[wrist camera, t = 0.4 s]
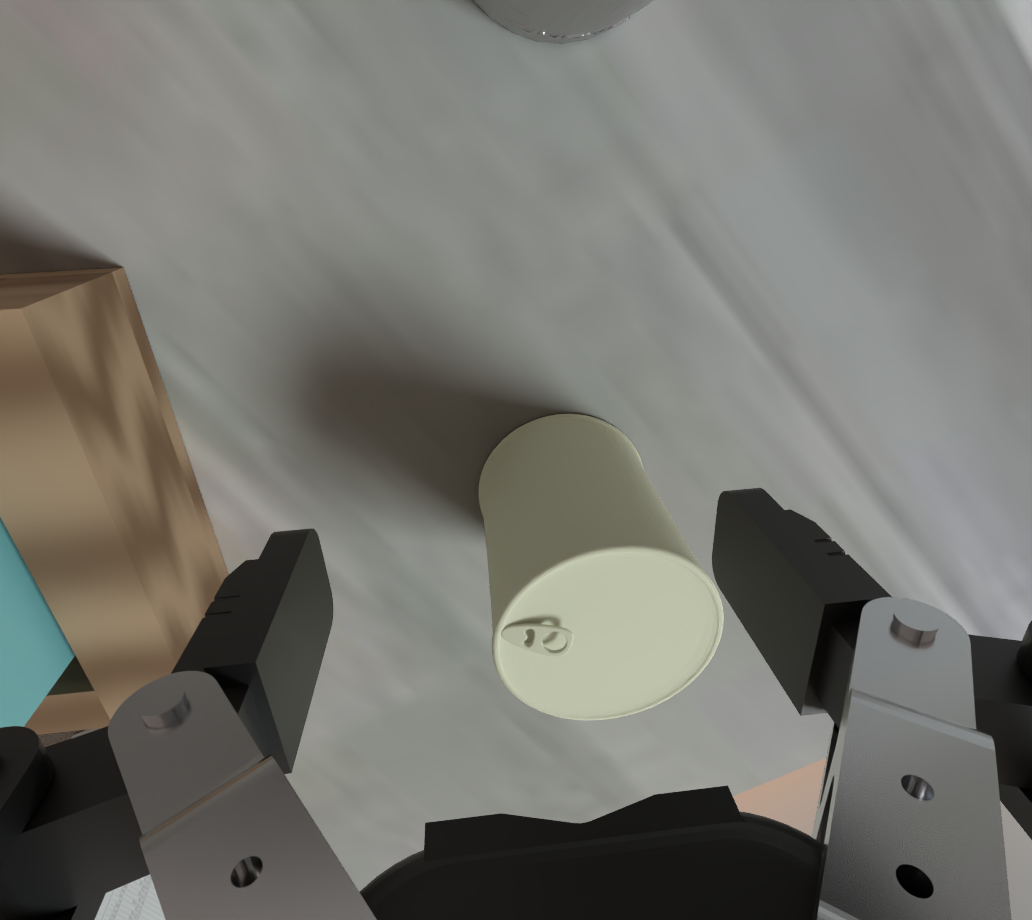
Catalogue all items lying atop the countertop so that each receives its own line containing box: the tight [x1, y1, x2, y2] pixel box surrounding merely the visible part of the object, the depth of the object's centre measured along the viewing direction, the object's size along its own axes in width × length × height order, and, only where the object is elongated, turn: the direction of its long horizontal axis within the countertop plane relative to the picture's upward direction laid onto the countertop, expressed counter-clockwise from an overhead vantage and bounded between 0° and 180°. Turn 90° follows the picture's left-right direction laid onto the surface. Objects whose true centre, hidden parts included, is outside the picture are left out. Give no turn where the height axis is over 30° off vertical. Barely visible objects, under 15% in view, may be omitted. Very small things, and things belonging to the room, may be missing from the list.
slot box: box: [0, 267, 229, 735], centre depth 27 cm, size 20×12×7 cm, turn 2°
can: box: [478, 414, 724, 720], centre depth 28 cm, size 9×9×12 cm
